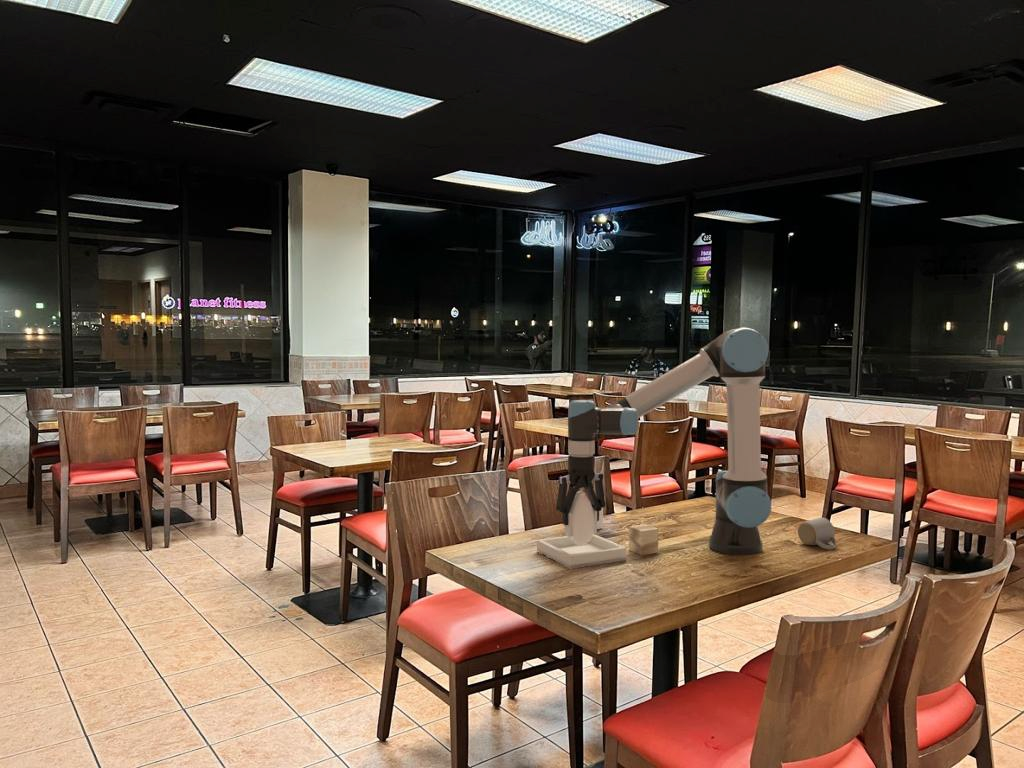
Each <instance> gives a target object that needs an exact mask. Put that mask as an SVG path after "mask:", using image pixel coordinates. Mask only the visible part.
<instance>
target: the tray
mask: <svg viewBox="0 0 1024 768" xmlns="http://www.w3.org/2000/svg"><path fill="white" fill-rule="evenodd" d="M537 551H539V552H540V553H542V554H544V555H546V556H548V557H550V558H551V559H553V560H555V561H556V562H555V561H554V562H555V563H557V562H558V563H557V564H559V563H560V564H559V565H561V564H562V565H561V566H563V565H564V566H563V567H564V568H566V567H567V568H566V569H568V568H569V569H568V570H574V569H573V568H575V569H580V568H579V567H581V568H586V567H585V566H588V567H592V566H591V565H594V566H598V564H600V565H604V564H605V563H606V564H610V563H611V564H612V563H617V562H623V561H627V547H625V546H623V545H621V544H619V543H615V542H614V541H610V540H609V539H607V538H605V537H602V536H600V535H598V534H594V533H593V536H592V538H591V540H590V541H589V542H587V544H586V545H584V546H578V545H576V544H575V543H574V542H573V541H572V540H571V539H570V537H567V536H565V535H564V536H558V537H557V536H555V537H549V538H541V539H537V540H536V552H537ZM540 553H539V554H540ZM542 554H541V555H542ZM544 555H543V556H544ZM546 556H545V557H546ZM551 559H550V560H551ZM553 560H552V561H553Z"/></svg>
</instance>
